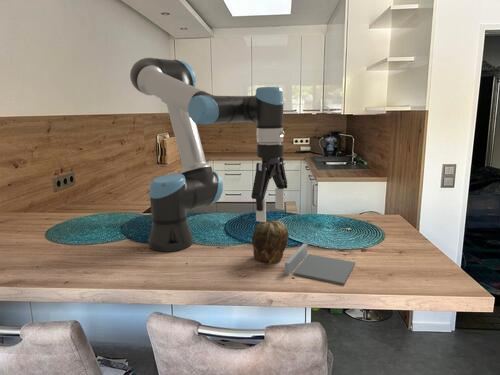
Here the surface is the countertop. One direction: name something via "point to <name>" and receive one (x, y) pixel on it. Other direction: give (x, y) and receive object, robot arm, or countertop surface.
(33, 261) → the countertop surface
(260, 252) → the brown rounded lump
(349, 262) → the pad
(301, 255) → the acrylic wall
